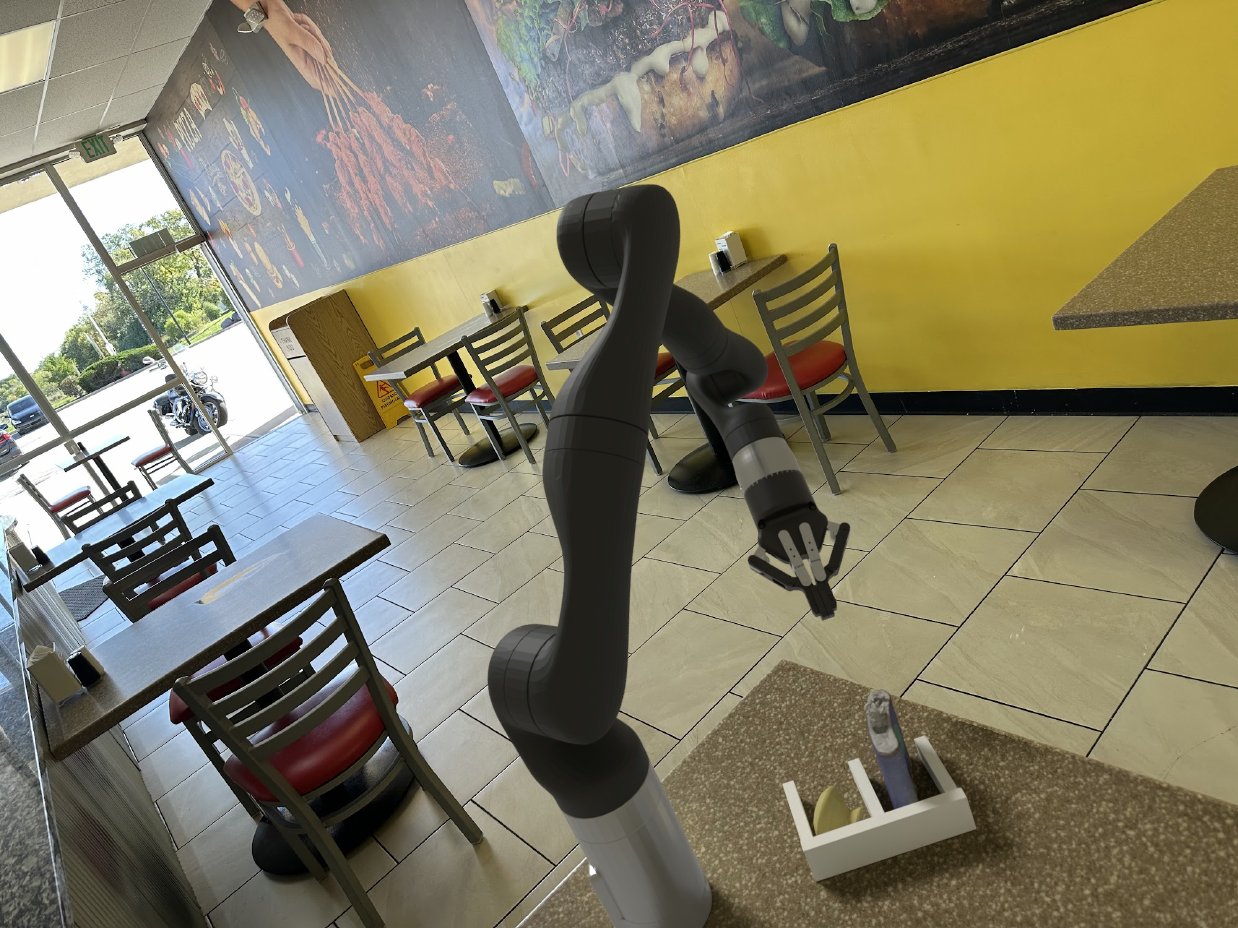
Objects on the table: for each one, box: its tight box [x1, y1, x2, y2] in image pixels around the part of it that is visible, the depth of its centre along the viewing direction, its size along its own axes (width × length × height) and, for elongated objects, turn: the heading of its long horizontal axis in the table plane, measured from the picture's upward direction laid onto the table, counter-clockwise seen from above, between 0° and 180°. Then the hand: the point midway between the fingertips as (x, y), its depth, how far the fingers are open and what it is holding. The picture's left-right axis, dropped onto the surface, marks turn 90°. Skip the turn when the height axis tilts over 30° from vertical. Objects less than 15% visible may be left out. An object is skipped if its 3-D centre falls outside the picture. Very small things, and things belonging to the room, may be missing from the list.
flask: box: [863, 688, 920, 810], centre depth 79 cm, size 9×3×11 cm, turn 169°
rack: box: [782, 735, 977, 883], centre depth 78 cm, size 16×10×4 cm, turn 92°
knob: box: [813, 785, 865, 836], centre depth 77 cm, size 5×5×5 cm
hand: (828, 616), depth 88 cm, fingers closed
